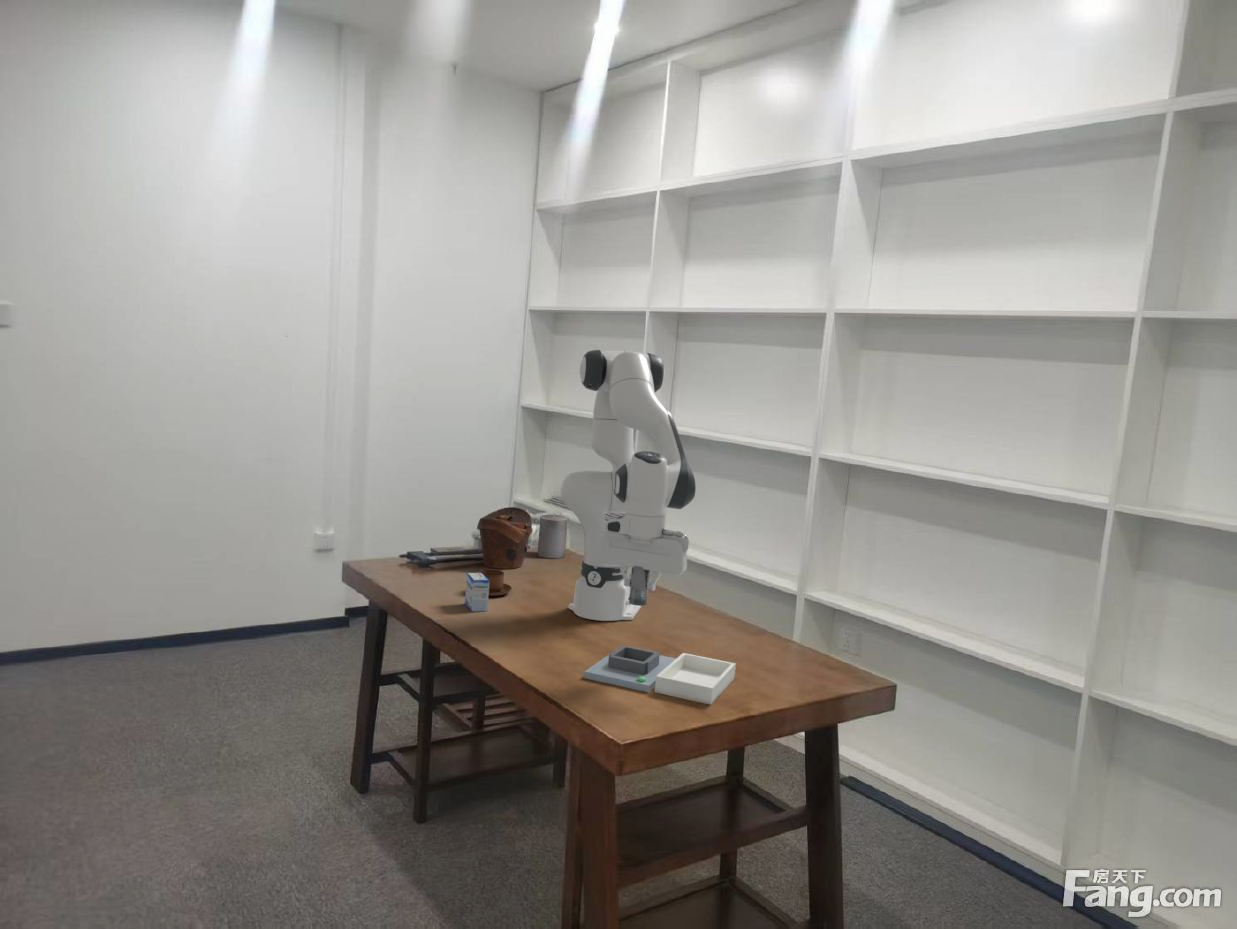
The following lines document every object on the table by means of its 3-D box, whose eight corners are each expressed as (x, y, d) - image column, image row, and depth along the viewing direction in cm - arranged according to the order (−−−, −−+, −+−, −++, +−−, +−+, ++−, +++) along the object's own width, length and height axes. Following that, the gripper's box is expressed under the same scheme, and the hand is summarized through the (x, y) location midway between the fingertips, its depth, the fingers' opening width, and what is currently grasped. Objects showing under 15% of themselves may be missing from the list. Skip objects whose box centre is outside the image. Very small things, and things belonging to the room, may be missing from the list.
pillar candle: (549, 551, 314) (552, 510, 313) (570, 556, 309) (573, 514, 307) (531, 555, 306) (534, 512, 305) (553, 560, 301) (556, 517, 299)
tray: (681, 667, 203) (683, 652, 202) (734, 678, 198) (735, 663, 198) (654, 692, 186) (656, 676, 186) (711, 704, 181) (712, 688, 181)
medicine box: (464, 603, 241) (466, 572, 240) (480, 603, 243) (482, 572, 242) (471, 612, 234) (473, 580, 233) (487, 611, 236) (489, 579, 235)
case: (482, 573, 276) (485, 516, 274) (469, 558, 295) (472, 505, 293) (537, 572, 283) (541, 516, 281) (521, 557, 301) (524, 505, 299)
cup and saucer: (464, 588, 257) (466, 567, 256) (505, 587, 262) (506, 567, 261) (474, 599, 246) (475, 578, 245) (515, 598, 251) (517, 577, 250)
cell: (633, 599, 198) (636, 559, 197) (649, 602, 197) (653, 561, 196) (626, 603, 195) (629, 562, 194) (643, 606, 193) (646, 564, 192)
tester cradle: (619, 653, 210) (620, 636, 209) (679, 665, 204) (680, 648, 203) (583, 678, 191) (585, 660, 191) (648, 692, 186) (650, 674, 185)
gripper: (693, 531, 193) (688, 592, 194) (608, 518, 200) (603, 578, 202) (684, 535, 187) (679, 598, 189) (596, 522, 195) (592, 583, 196)
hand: (639, 588), depth 195 cm, fingers closed on cell, 4 cm apart
